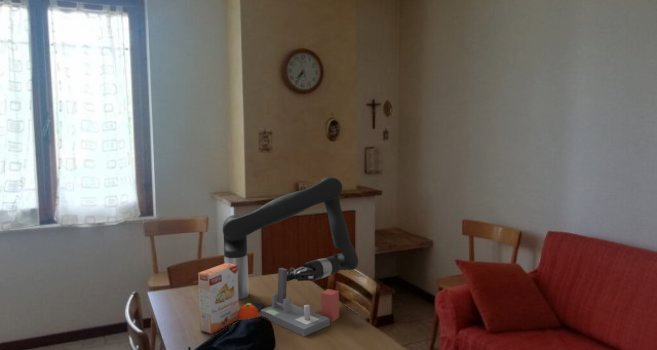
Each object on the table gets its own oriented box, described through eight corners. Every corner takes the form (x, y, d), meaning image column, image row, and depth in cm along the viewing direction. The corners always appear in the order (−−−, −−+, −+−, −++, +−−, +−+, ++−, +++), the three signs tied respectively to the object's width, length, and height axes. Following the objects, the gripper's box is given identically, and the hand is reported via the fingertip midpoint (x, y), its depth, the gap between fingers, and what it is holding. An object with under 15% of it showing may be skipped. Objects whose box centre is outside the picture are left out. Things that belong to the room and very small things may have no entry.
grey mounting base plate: (260, 316, 181) (259, 296, 180) (285, 307, 189) (285, 288, 188) (304, 336, 164) (303, 314, 163) (329, 325, 172) (329, 304, 171)
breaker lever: (275, 305, 182) (277, 268, 181) (279, 304, 183) (281, 267, 182) (283, 308, 179) (284, 270, 178) (287, 307, 180) (288, 269, 179)
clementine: (241, 318, 180) (240, 299, 179) (260, 318, 179) (259, 299, 179) (237, 327, 172) (236, 308, 171) (256, 327, 171) (256, 308, 171)
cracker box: (212, 335, 166) (209, 275, 164) (199, 331, 169) (196, 272, 167) (240, 320, 178) (238, 264, 176) (228, 316, 181) (225, 261, 179)
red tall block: (321, 319, 177) (320, 292, 176) (328, 315, 181) (327, 288, 180) (332, 322, 175) (331, 295, 174) (339, 317, 179) (338, 291, 177)
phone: (229, 317, 179) (248, 302, 193) (230, 320, 179) (248, 304, 194) (248, 320, 177) (265, 304, 191) (248, 322, 177) (265, 306, 191)
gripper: (306, 256, 198) (272, 265, 185) (329, 263, 188) (295, 272, 176) (306, 275, 198) (272, 284, 186) (329, 282, 189) (296, 292, 177)
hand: (284, 278), depth 181 cm, fingers closed
